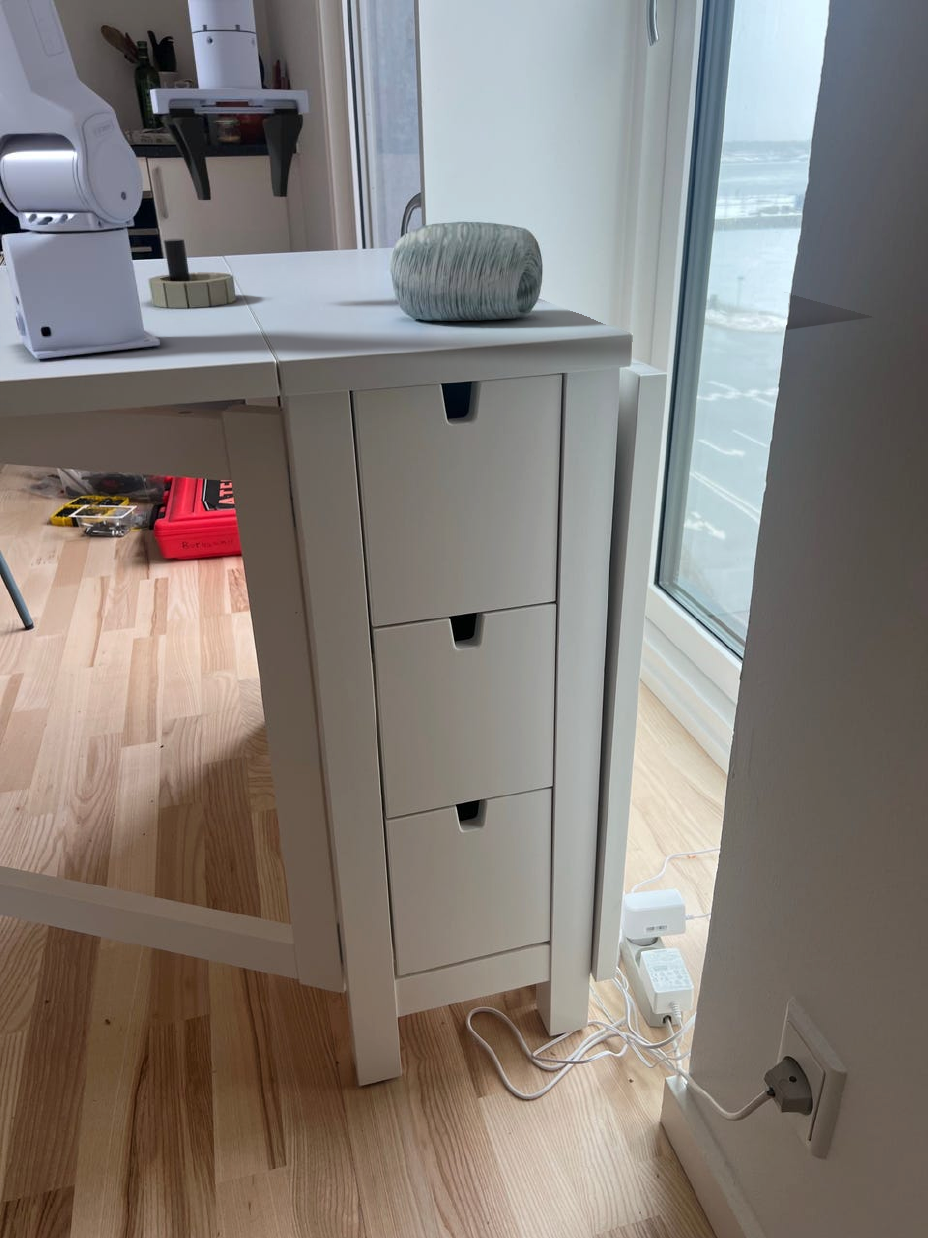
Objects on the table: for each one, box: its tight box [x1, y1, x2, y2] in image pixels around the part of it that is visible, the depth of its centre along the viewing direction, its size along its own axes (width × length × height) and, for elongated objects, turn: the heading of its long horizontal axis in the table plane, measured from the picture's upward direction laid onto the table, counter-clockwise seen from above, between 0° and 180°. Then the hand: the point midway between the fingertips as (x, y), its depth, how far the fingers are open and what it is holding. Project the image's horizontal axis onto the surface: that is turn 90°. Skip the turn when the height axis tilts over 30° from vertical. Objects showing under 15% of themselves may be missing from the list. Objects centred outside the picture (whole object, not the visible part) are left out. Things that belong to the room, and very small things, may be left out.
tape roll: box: [147, 271, 237, 309], centre depth 96 cm, size 8×8×2 cm
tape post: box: [163, 238, 190, 282], centre depth 96 cm, size 2×2×6 cm
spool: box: [389, 221, 544, 322], centre depth 82 cm, size 14×10×10 cm
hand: (243, 198), depth 90 cm, fingers open, 7 cm apart
